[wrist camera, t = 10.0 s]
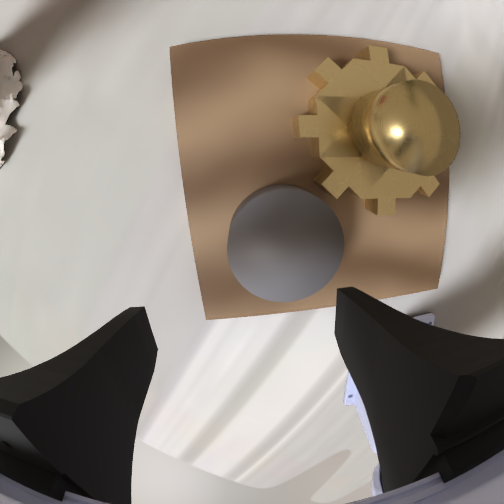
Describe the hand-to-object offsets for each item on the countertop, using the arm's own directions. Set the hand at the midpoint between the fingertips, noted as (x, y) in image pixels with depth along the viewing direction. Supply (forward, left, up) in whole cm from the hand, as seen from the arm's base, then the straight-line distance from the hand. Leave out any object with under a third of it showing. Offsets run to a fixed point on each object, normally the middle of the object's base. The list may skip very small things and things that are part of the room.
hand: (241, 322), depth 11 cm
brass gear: (+7, -9, -8) cm, 14 cm away
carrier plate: (+4, -6, -9) cm, 12 cm away
